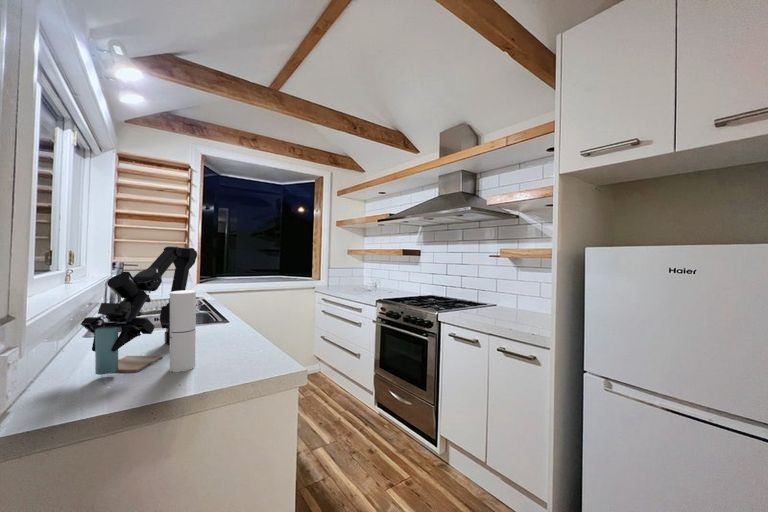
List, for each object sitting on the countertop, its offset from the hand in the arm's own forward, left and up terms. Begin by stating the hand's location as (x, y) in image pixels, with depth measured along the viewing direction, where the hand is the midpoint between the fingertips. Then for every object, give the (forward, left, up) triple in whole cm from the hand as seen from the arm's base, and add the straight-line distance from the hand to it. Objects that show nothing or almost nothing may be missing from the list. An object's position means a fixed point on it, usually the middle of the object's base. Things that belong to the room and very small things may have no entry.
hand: (103, 350), depth 93 cm
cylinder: (-1, -1, -7) cm, 7 cm away
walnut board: (-8, -8, -8) cm, 14 cm away
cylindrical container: (-19, +6, -9) cm, 22 cm away
